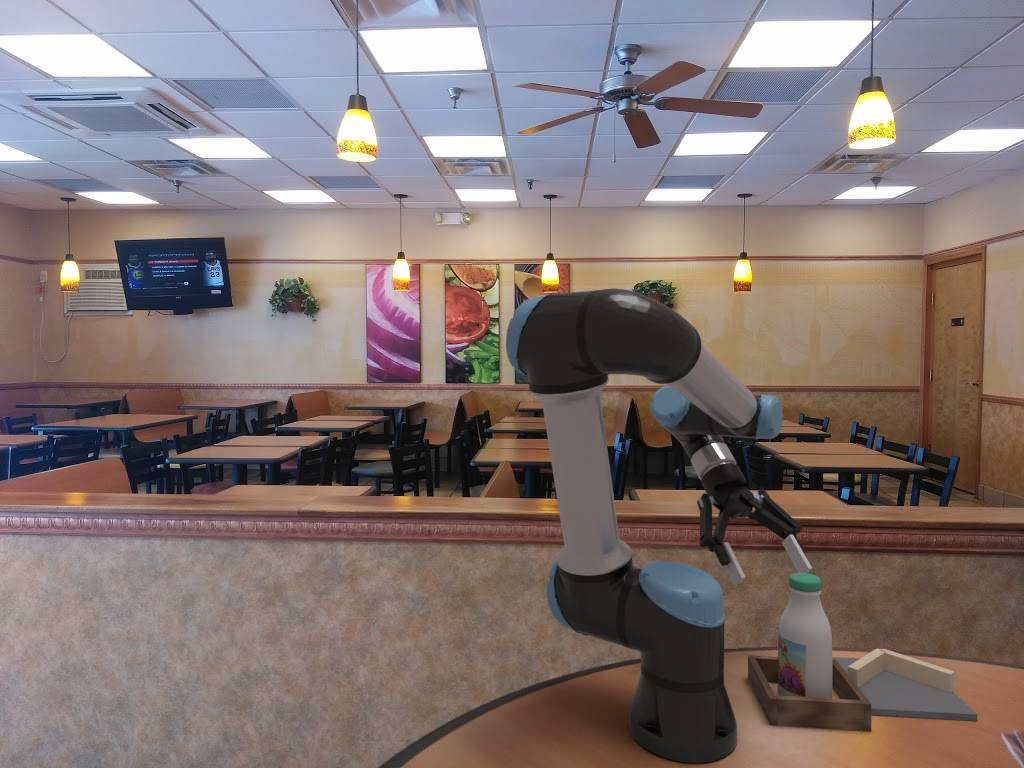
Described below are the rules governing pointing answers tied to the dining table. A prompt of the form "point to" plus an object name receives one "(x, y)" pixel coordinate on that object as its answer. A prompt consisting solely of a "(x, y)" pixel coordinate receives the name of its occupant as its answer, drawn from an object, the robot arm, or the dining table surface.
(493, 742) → the dining table surface
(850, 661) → the v cradle
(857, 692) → the walnut collar
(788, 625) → the milk bottle
